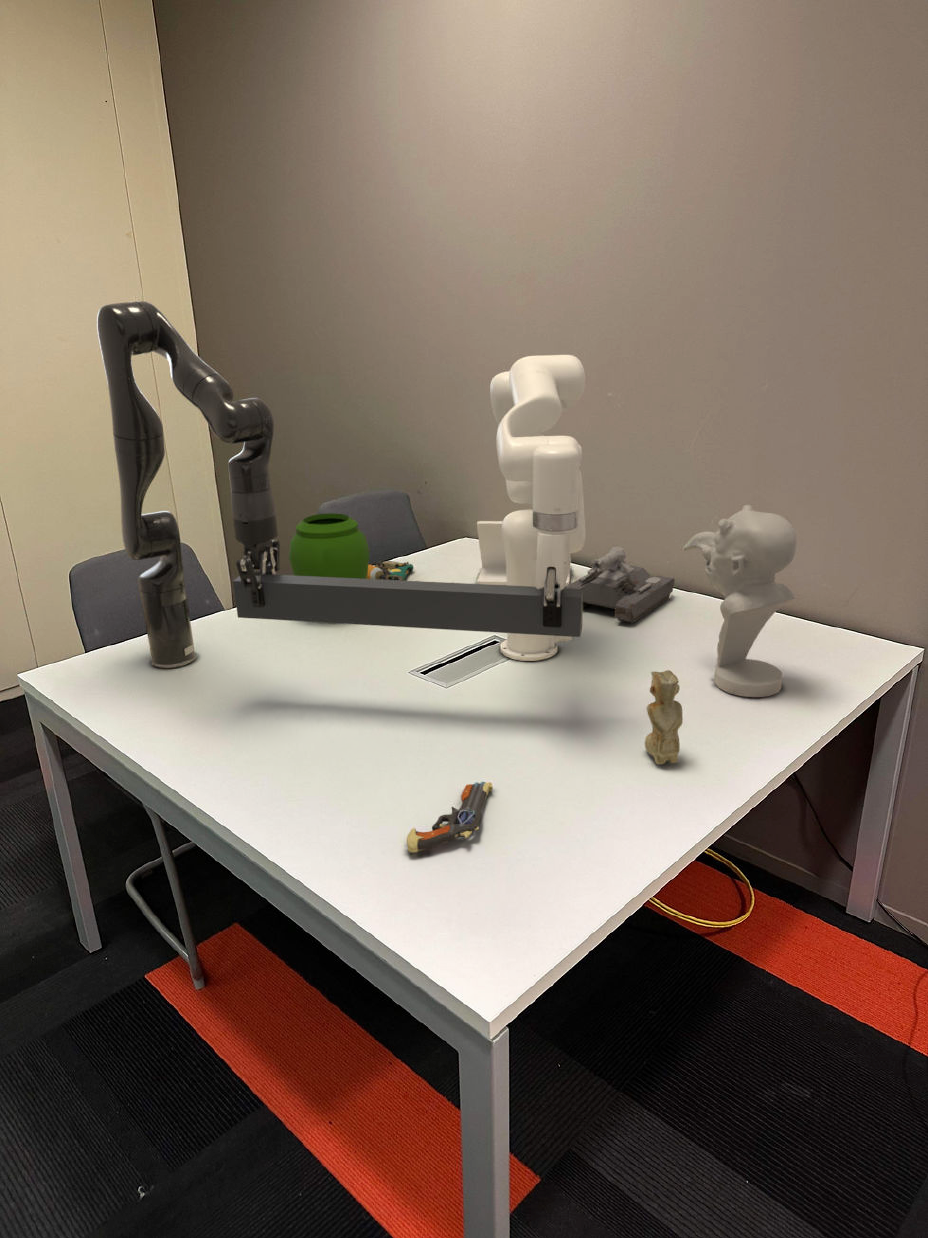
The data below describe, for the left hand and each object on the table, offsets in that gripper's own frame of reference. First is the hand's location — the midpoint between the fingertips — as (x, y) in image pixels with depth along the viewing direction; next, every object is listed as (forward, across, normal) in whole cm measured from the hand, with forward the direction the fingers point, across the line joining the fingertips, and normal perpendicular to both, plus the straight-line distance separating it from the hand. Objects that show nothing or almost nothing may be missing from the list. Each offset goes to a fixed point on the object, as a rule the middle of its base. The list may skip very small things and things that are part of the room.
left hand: (264, 601), depth 160 cm
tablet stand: (+23, -86, +37) cm, 96 cm away
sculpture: (+20, +10, +74) cm, 77 cm away
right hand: (+1, 0, +54) cm, 54 cm away
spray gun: (+23, -80, 0) cm, 83 cm away
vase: (+22, -49, -6) cm, 54 cm away
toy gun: (+20, +34, +43) cm, 59 cm away
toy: (+22, -65, +63) cm, 93 cm away
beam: (+3, 0, +27) cm, 27 cm away
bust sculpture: (+21, -23, +87) cm, 93 cm away
